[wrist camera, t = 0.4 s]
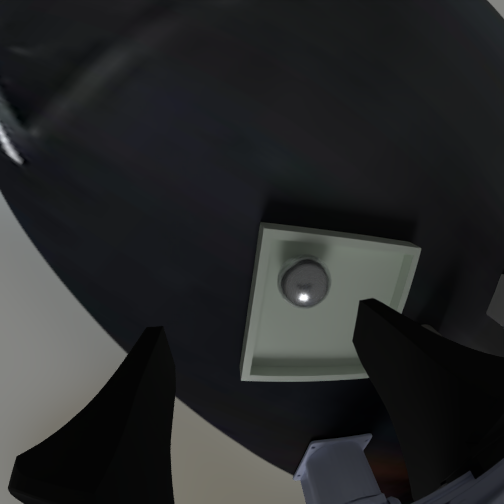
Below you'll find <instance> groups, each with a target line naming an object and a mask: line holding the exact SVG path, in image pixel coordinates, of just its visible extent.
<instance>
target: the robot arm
mask: <svg viewBox="0 0 504 504" xmlns="http://www.w3.org/2000/svg"><path fill="white" fill-rule="evenodd" d="M352 342H353V344H354V347H355V350H356V352H357V355H358V357H359V360H360V362H361V364H362V366H363V368H364V369H365V371H366V373H367V375H368V376H369V378H370V380H371V382H372V383H373V385H374V387H375V389H376V390H377V392H378V394H379V396H380V398H381V399H382V401H383V403H384V405H385V407H386V409H387V411H388V413H389V416H390V418H391V421H392V423H393V426H394V428H395V431H396V434H397V437H398V440H399V443H400V446H401V449H402V452H403V456H404V459H405V463H406V467H407V471H408V476H409V480H410V485H411V491H412V497H413V499H414V501H415V502H414V503H412V504H504V357H499V356H495V355H491V354H487V353H484V352H480V351H477V350H474V349H471V348H468V347H465V346H463V345H460V344H458V343H456V342H453V341H451V340H449V339H446V338H444V337H442V336H440V335H438V334H436V333H434V332H432V331H430V330H428V329H427V328H425V327H423V326H421V325H419V324H418V323H416V322H414V321H413V320H411V319H409V318H407V317H406V316H404V315H402V314H401V313H399V312H397V311H396V310H394V309H392V308H391V307H389V306H387V305H386V304H384V303H382V302H380V301H379V300H377V299H375V298H370V299H364V300H359V306H358V312H357V318H356V323H355V329H354V334H353V339H352ZM175 391H176V378H175V364H174V361H173V358H172V354H171V351H170V348H169V345H168V341H167V338H166V335H165V331H164V328H163V326H159V327H147V328H146V329H145V330H144V332H143V333H142V335H141V336H140V338H139V339H138V341H137V342H136V344H135V345H134V346H133V348H132V349H131V351H130V352H129V354H128V355H127V357H126V358H125V359H124V361H123V362H122V364H121V365H120V366H119V368H118V369H117V371H116V372H115V373H114V374H113V376H112V377H111V378H110V379H109V381H108V382H107V383H106V385H105V386H104V387H103V388H102V389H101V390H100V392H99V393H98V394H97V395H96V396H95V397H94V398H93V400H92V401H90V402H89V404H88V405H87V406H86V407H85V408H84V409H82V410H81V411H80V412H79V413H78V414H77V415H76V416H75V417H73V418H72V419H71V420H70V421H69V422H68V423H67V424H66V425H64V426H63V427H62V428H61V429H59V430H58V431H57V432H55V433H54V434H53V435H51V436H50V437H48V438H47V439H45V440H44V441H43V442H41V443H40V444H38V445H36V446H34V447H33V448H31V449H29V450H27V451H26V452H24V453H22V454H20V455H18V456H17V457H16V460H15V464H14V467H13V471H12V474H11V478H10V482H9V486H8V490H9V492H10V494H11V495H13V496H14V497H15V498H16V499H18V500H19V501H21V502H22V503H24V504H174V496H173V487H172V475H171V454H170V445H171V432H172V431H171V430H172V420H173V411H174V401H175ZM371 438H372V434H371V433H368V434H362V435H356V436H349V437H342V438H334V439H325V440H315V441H312V442H311V443H310V444H309V446H308V448H307V450H306V452H305V454H304V456H303V458H302V460H301V462H300V464H299V466H298V468H297V470H296V472H295V474H294V476H293V480H300V481H301V485H302V489H303V493H304V497H305V501H306V504H401V502H400V501H399V499H397V498H393V497H389V498H387V500H386V497H385V495H384V493H382V494H381V491H380V489H379V487H378V484H377V482H376V480H375V477H374V475H373V473H372V470H371V468H370V466H369V463H368V461H367V459H366V457H365V454H364V452H363V450H364V449H365V447H366V446H367V444H368V443H369V441H370V439H371Z"/></svg>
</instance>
